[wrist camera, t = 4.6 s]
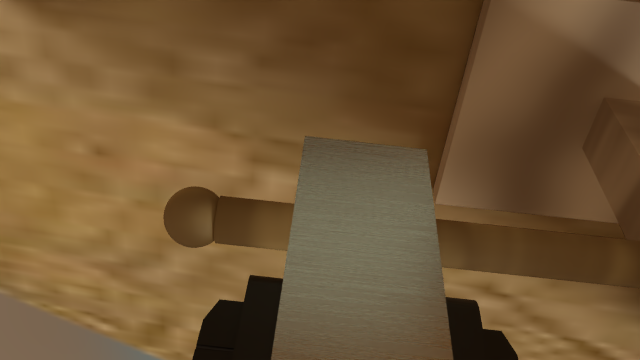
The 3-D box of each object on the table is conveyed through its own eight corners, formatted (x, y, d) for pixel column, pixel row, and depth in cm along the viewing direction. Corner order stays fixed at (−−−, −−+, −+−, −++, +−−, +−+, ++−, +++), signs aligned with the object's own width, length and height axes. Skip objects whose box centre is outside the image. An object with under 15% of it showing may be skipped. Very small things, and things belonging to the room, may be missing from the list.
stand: (736, 3, 22) (974, 198, 13) (625, 210, 28) (740, 434, 20) (219, -54, 22) (124, 105, 13) (221, 166, 28) (158, 374, 19)
